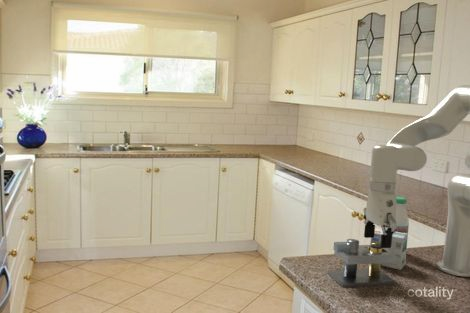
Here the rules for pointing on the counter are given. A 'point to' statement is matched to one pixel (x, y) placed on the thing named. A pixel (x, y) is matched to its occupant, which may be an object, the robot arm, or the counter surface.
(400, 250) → the light bulb box
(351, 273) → the grey metal stand
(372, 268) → the pin
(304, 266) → the counter surface
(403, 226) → the milk bottle
